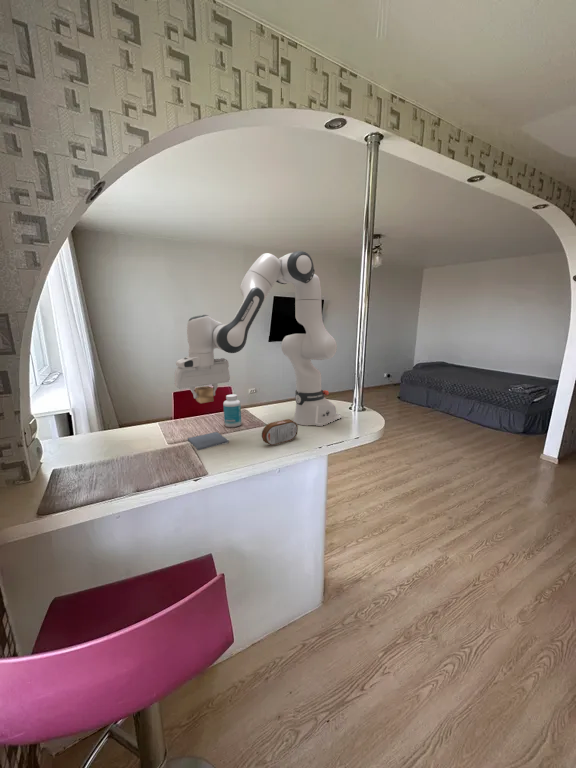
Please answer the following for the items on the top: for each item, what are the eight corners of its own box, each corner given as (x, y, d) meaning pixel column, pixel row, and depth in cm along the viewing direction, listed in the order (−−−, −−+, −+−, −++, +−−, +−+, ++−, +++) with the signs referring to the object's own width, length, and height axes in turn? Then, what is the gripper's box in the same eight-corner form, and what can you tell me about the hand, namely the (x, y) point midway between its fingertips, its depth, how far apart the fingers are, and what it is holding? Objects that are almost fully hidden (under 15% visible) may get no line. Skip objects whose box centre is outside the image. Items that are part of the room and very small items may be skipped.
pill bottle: (243, 426, 144) (241, 396, 141) (226, 428, 141) (224, 398, 139) (239, 421, 151) (237, 392, 148) (223, 423, 148) (221, 394, 145)
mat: (216, 433, 136) (216, 431, 136) (228, 442, 126) (228, 440, 126) (187, 440, 129) (187, 438, 129) (198, 450, 120) (197, 447, 119)
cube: (208, 398, 128) (208, 386, 127) (213, 401, 124) (212, 388, 123) (196, 400, 125) (195, 387, 124) (200, 403, 121) (199, 390, 120)
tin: (294, 437, 130) (294, 416, 129) (299, 439, 128) (299, 418, 126) (261, 446, 122) (260, 424, 120) (265, 448, 119) (265, 426, 118)
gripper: (224, 357, 129) (226, 391, 132) (171, 361, 118) (175, 399, 121) (231, 358, 124) (233, 394, 127) (176, 363, 113) (180, 402, 116)
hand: (204, 396), depth 124 cm, fingers closed on cube, 5 cm apart
